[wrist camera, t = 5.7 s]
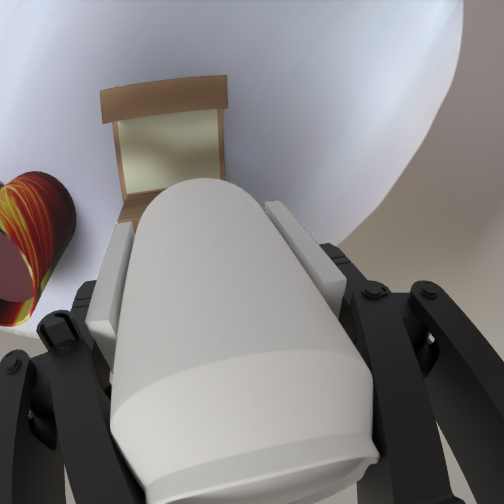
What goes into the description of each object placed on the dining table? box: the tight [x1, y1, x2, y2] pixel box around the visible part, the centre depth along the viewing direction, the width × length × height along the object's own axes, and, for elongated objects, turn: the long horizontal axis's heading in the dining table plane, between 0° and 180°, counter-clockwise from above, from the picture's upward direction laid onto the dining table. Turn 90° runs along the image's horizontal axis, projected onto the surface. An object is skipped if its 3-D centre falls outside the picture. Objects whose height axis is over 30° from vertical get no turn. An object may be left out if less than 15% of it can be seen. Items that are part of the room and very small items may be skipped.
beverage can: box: [110, 178, 380, 504], centre depth 10 cm, size 6×6×12 cm
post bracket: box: [100, 75, 228, 234], centre depth 24 cm, size 13×10×7 cm
